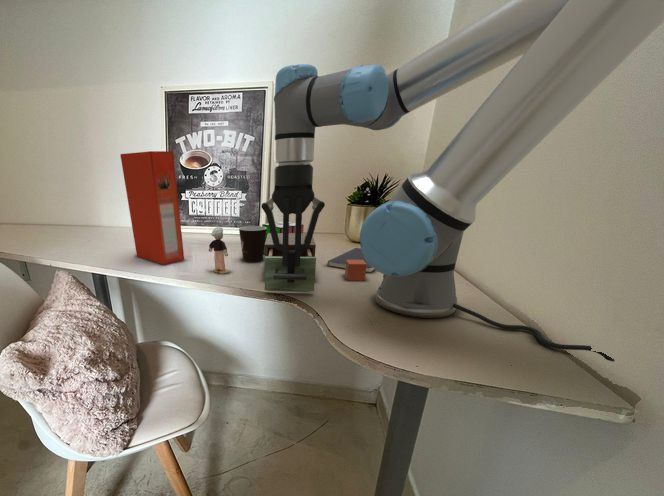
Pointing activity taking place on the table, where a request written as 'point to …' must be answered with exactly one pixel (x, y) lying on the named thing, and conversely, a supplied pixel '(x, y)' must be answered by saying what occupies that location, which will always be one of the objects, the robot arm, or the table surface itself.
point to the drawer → (279, 274)
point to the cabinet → (290, 243)
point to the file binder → (153, 205)
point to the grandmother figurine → (218, 250)
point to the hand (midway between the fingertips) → (290, 280)
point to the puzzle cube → (281, 228)
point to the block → (355, 270)
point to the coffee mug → (252, 242)
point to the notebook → (350, 255)
